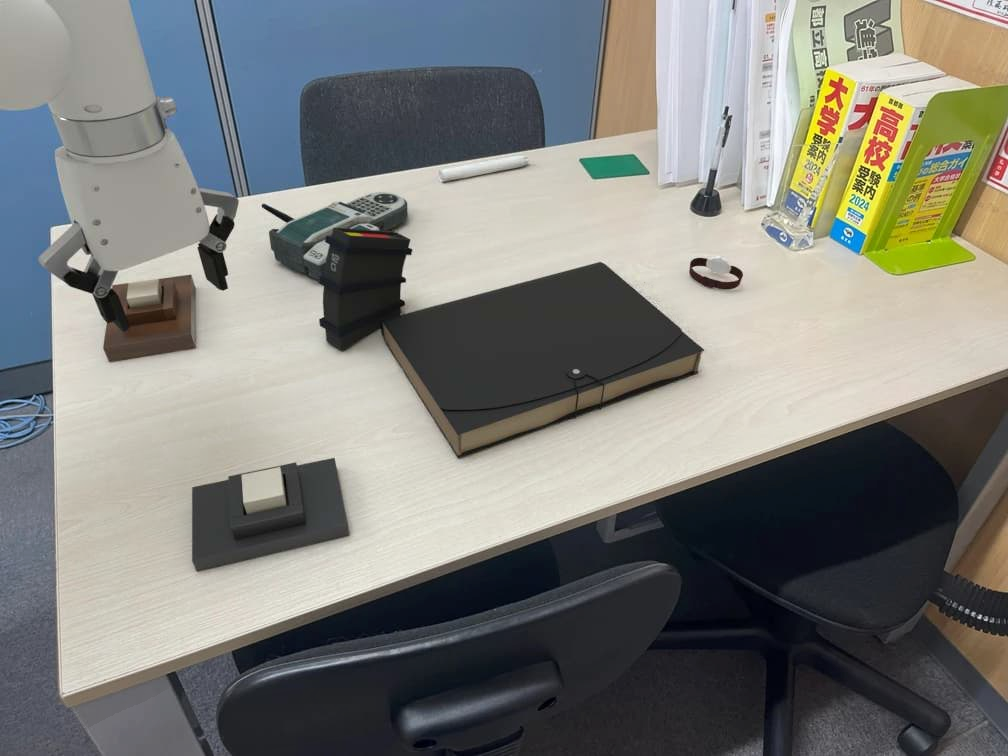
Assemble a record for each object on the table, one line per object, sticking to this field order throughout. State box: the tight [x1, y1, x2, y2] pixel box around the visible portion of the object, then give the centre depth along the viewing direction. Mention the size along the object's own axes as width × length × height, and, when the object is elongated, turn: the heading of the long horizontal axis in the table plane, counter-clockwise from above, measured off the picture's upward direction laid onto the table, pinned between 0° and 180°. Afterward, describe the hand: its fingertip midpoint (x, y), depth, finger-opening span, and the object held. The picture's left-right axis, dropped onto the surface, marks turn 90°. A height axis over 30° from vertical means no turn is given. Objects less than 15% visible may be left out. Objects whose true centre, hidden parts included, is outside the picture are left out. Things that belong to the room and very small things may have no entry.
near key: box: [242, 467, 287, 515], centre depth 68 cm, size 4×4×2 cm
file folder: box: [379, 261, 706, 459], centre depth 89 cm, size 33×4×24 cm
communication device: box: [261, 191, 408, 281], centre depth 107 cm, size 12×24×9 cm, turn 146°
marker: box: [438, 155, 531, 183], centre depth 129 cm, size 18×2×2 cm, turn 117°
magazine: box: [318, 227, 413, 351], centre depth 90 cm, size 4×13×15 cm, turn 141°
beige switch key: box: [127, 278, 162, 309], centre depth 90 cm, size 4×4×2 cm
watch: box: [688, 255, 744, 291], centre depth 103 cm, size 8×5×4 cm, turn 63°
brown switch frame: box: [102, 274, 197, 363], centre depth 92 cm, size 14×10×4 cm
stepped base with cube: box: [191, 457, 350, 572], centre depth 69 cm, size 14×9×4 cm, turn 108°
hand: (170, 303), depth 68 cm, fingers open, 9 cm apart
